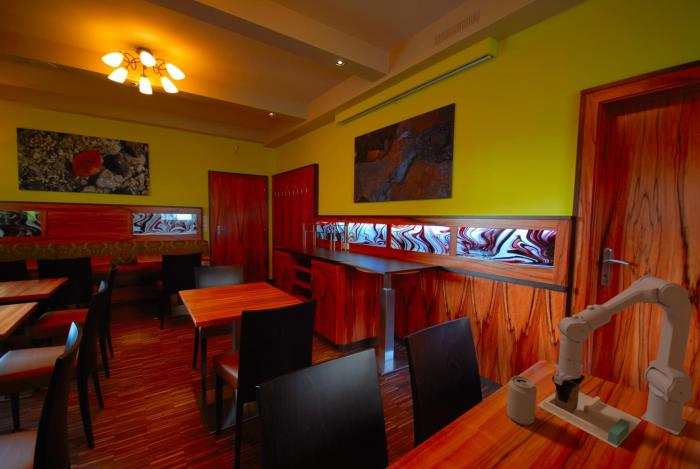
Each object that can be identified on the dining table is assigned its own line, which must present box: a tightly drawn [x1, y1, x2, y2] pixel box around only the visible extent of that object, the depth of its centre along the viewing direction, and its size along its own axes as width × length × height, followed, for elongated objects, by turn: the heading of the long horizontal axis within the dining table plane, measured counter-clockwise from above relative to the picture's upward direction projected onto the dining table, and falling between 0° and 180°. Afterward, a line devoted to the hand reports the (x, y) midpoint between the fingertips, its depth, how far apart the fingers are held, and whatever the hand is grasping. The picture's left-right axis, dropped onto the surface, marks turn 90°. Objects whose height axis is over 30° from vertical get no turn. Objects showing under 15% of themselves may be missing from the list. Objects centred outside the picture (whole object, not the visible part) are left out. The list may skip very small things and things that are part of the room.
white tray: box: [536, 391, 642, 449], centre depth 97 cm, size 20×20×4 cm
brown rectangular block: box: [554, 380, 580, 413], centre depth 98 cm, size 4×4×8 cm
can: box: [506, 375, 538, 426], centre depth 94 cm, size 8×8×12 cm
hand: (566, 398), depth 98 cm, fingers closed on brown rectangular block, 4 cm apart
